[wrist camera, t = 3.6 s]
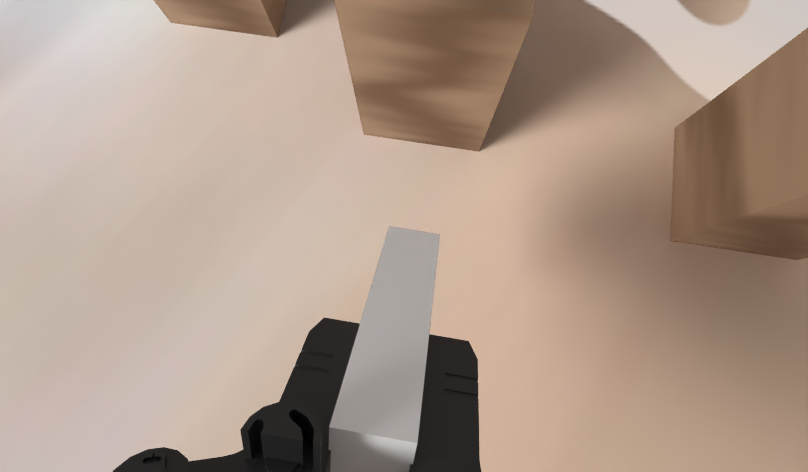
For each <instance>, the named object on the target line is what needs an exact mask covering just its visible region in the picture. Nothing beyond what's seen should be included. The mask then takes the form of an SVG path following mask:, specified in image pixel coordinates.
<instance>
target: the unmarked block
mask: <svg viewBox="0 0 808 472" xmlns="http://www.w3.org/2000/svg"><path fill="white" fill-rule="evenodd" d="M334 2H335V6H336V11H337V15H338V20H339V24H340V29H341V33H342V38H343V42H344V47H345V51H346V56H347V60H348V65H349V69H350V74H351V78H352V83H353V87H354V92H355V96H356V101H357V106H358V110H359V115H360V119H361V124H362V128H363V133H364V135H371V136H378V137H385V138H391V139H398V140H405V141H412V142H418V143H425V144H432V145H439V146H445V147H452V148H459V149H466V150H472V151H479V150H480V148H481V145H482V143H483V140H484V138H485V136H486V133H487V131H488V128H489V126H490V123H491V121H492V118H493V116H494V113H495V111H496V108H497V106H498V103H499V101H500V98H501V96H502V93H503V91H504V88H505V86H506V83H507V81H508V78H509V76H510V73H511V71H512V68H513V66H514V63H515V61H516V58H517V56H518V54H519V51H520V49H521V46H522V44H523V41H524V39H525V36H526V34H527V31H528V29H529V26H530V24H531V21H532V19H533V16H534V8H535V0H334Z"/></svg>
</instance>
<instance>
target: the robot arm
mask: <svg viewBox="0 0 808 472" xmlns="http://www.w3.org/2000/svg"><path fill="white" fill-rule="evenodd" d="M439 238H440V234H434V233H428V232H422V231H416V230H410V229H404V228H397V227H391V226H389V228H388V232H387V235H386V238H385V242H384V245H383V248H382V252H381V255H380V258H379V262H378V265H377V269H376V272H375V275H374V279H373V282H372V285H371V289H370V292H369V295H368V299H367V302H366V305H365V309H364V312H363V315H362V319H361V322H360V324H358V323H352V322H347V321H341V320H335V319H329V318H323V319H322V320H321V321H320V322H319V323H318V324H317V325H316V326H315V327H314V328H313V329H311V330H310V331H309V334H308V336H307V338H306V341H305V343H304V345H303V348H302V351H301V353H300V355H299V357H298V359H297V362H296V365H295V367H294V369H293V371H292V373H291V376H290V378H289V380H288V383H287V385H286V387H285V390H284V392H283V394H282V397H281V399H280V401H279V402H278V403H275V404H272V405H268V406H265V407H263V408H261V409H260V410H259V411H257V412H256V413H254V414H253V415H252V416H250V417H249V419H248V420H247V422H246V423H245V424H244V426H243V427H242V428H241V436H242V442H243V449H244V450H242V451H240V452H238V453H235V454H232V455H228V456H224V457H217V458H210V459H203V460H196V461H189V462H188V459H187V458H186V457H185V456H184V455H182V454H181V453H180V452H179V451H177V450H173V449H169V448H165V447H163V448H155V449H148V450H145V451H143V452H141V453H139V454H136V455H134V456H132V457H130V458H129V459H127V460H126V461H125V462H124V463H122V464H121V465H120V466H119V467H117V468H116V469H115V470H114V471H113V472H481V468H480V461H479V413H478V382H477V381H478V359H477V357H476V355H475V353H474V351H473V349H472V347H471V345H470V343H469V341H464V340H459V339H453V338H447V337H441V336H435V335H429V331H430V322H431V313H432V304H433V294H434V285H435V276H436V266H437V257H438V248H439Z"/></svg>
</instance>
